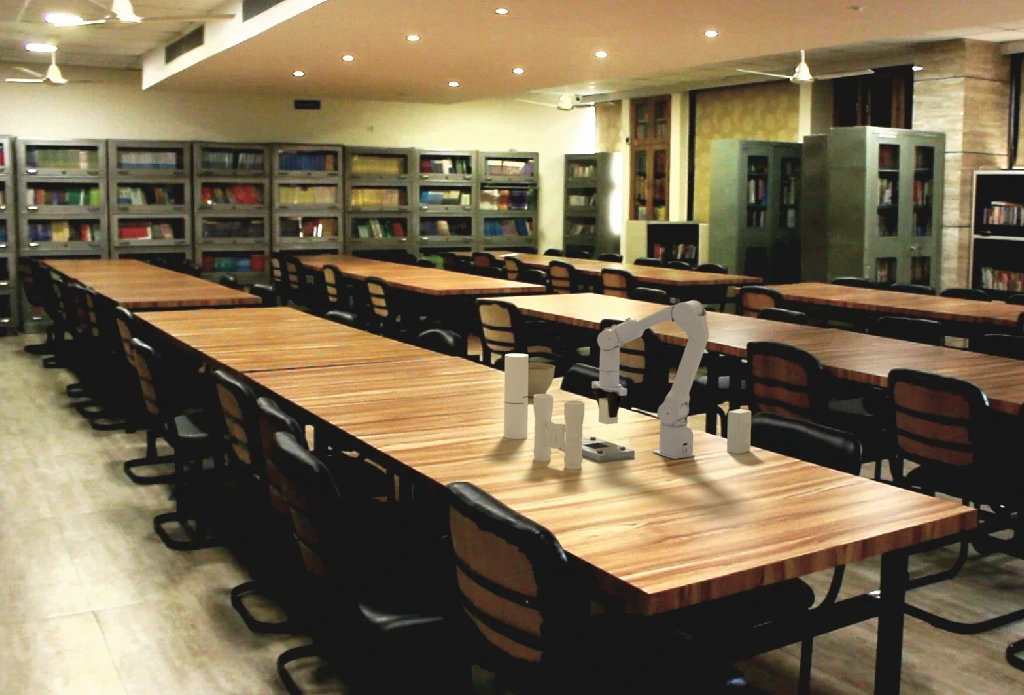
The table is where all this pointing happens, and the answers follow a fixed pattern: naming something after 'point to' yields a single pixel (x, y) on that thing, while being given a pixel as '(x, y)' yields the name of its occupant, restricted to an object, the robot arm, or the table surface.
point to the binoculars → (558, 431)
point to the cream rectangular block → (605, 412)
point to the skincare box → (739, 431)
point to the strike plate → (604, 450)
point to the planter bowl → (539, 378)
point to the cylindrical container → (516, 396)
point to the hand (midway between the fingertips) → (608, 415)
